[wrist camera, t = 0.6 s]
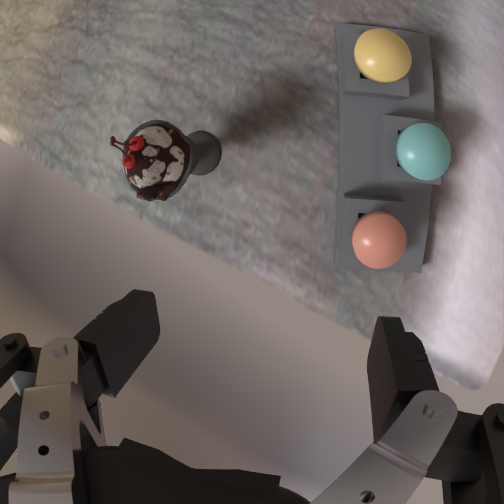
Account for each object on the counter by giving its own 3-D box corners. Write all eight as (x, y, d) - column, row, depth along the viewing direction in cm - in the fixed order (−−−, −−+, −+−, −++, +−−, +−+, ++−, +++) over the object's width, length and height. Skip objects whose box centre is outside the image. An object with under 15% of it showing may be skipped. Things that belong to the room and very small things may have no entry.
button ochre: (349, 40, 23) (353, 25, 19) (398, 45, 22) (409, 32, 18) (351, 86, 25) (356, 77, 21) (401, 91, 24) (413, 84, 20)
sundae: (191, 112, 32) (108, 102, 18) (239, 145, 32) (179, 150, 18) (162, 161, 34) (74, 180, 21) (207, 193, 35) (135, 231, 21)
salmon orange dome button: (350, 203, 29) (355, 213, 25) (398, 206, 28) (409, 216, 24) (347, 251, 30) (350, 267, 26) (393, 254, 29) (402, 270, 25)
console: (334, 28, 25) (336, 14, 22) (424, 38, 23) (436, 27, 20) (333, 262, 34) (334, 277, 31) (417, 267, 32) (427, 282, 29)
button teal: (389, 122, 25) (399, 119, 21) (435, 128, 24) (451, 127, 20) (388, 172, 27) (398, 177, 23) (433, 177, 26) (449, 183, 22)
